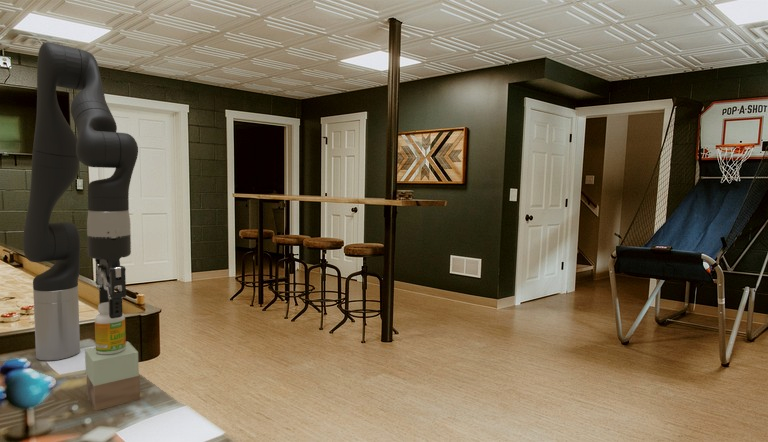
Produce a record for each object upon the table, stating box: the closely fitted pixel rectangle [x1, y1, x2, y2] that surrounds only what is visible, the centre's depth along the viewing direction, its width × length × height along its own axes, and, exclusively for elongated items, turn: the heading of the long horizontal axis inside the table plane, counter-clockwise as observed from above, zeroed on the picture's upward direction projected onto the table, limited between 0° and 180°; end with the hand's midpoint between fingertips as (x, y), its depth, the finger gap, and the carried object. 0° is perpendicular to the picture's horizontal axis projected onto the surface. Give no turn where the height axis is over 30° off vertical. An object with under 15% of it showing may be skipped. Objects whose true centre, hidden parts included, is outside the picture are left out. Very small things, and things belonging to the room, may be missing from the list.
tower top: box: [84, 341, 140, 386], centre depth 99 cm, size 8×8×5 cm
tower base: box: [86, 375, 141, 411], centre depth 99 cm, size 8×8×5 cm
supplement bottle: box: [94, 302, 127, 355], centre depth 98 cm, size 5×5×10 cm
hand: (110, 312), depth 97 cm, fingers open, 8 cm apart
